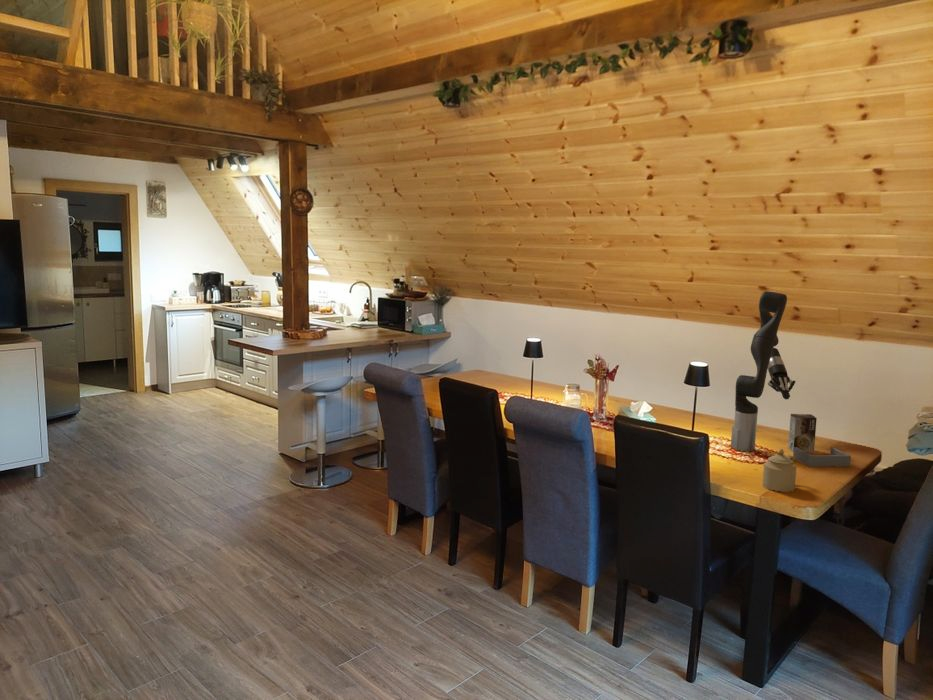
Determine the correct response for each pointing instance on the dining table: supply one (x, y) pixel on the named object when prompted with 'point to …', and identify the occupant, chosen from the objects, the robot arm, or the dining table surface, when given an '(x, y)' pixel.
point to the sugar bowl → (779, 473)
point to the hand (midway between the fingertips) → (787, 398)
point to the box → (823, 458)
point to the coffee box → (802, 432)
